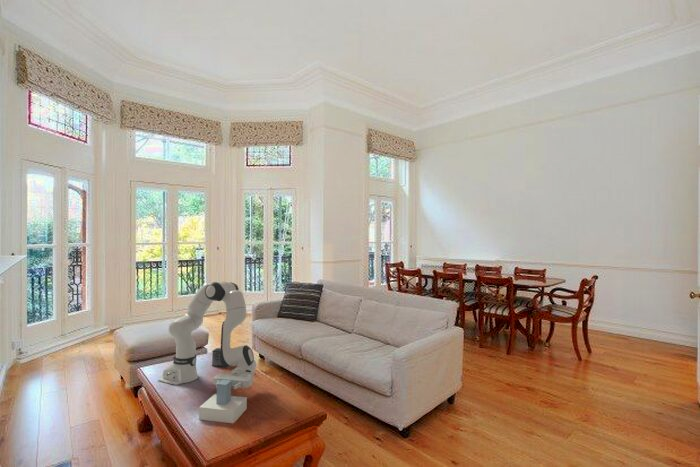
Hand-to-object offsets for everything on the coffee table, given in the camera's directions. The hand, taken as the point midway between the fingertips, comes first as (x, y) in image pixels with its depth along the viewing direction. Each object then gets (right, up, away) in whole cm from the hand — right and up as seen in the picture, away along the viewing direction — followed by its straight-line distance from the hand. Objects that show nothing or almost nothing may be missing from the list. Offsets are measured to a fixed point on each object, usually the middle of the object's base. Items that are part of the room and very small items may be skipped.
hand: (225, 386), depth 178 cm
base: (0, -13, -2) cm, 13 cm away
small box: (-25, -12, +62) cm, 68 cm away
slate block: (0, -7, -2) cm, 7 cm away
